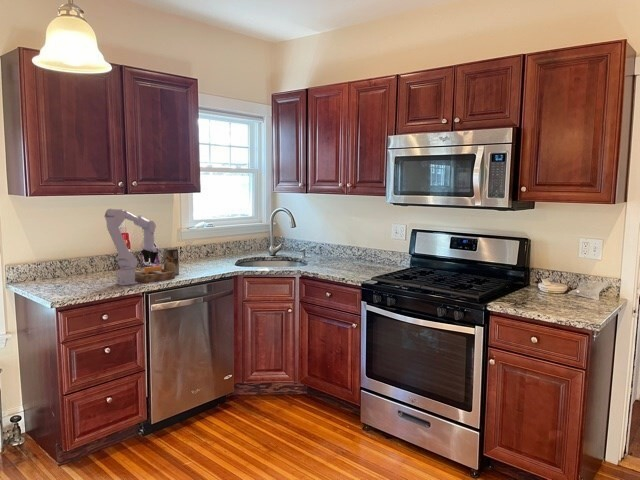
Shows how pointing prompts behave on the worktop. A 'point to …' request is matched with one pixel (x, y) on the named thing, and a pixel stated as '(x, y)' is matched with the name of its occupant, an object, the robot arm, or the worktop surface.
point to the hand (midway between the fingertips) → (149, 262)
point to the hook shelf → (154, 276)
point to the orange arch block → (152, 269)
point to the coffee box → (171, 260)
